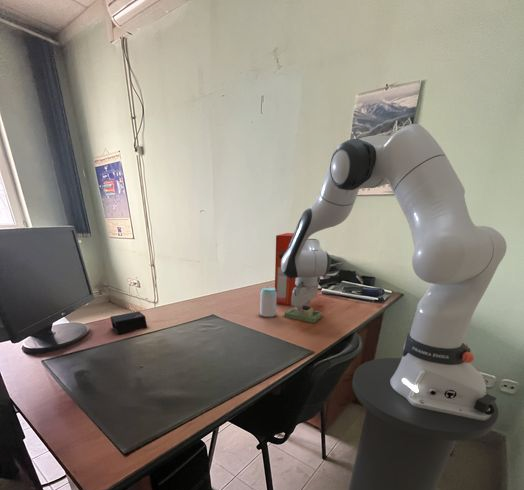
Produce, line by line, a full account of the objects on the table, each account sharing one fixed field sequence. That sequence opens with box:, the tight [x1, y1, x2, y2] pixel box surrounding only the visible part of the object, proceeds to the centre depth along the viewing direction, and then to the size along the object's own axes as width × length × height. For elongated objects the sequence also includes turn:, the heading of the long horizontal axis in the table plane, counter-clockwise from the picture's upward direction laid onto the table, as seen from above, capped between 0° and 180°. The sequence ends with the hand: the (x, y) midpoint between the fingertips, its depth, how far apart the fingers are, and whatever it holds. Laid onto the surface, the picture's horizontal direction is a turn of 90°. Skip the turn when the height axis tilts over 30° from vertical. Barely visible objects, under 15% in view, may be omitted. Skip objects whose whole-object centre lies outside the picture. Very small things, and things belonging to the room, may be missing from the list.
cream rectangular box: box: [293, 305, 314, 317], centre depth 124 cm, size 7×5×4 cm
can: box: [259, 286, 277, 318], centre depth 124 cm, size 7×7×12 cm
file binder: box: [274, 232, 296, 306], centre depth 141 cm, size 8×17×32 cm, turn 161°
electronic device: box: [110, 310, 148, 335], centre depth 109 cm, size 7×11×5 cm
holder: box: [284, 307, 323, 324], centre depth 125 cm, size 14×10×2 cm
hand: (303, 311), depth 124 cm, fingers closed on cream rectangular box, 5 cm apart
